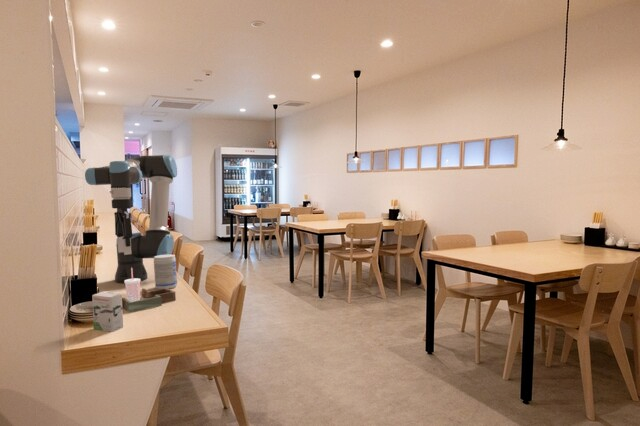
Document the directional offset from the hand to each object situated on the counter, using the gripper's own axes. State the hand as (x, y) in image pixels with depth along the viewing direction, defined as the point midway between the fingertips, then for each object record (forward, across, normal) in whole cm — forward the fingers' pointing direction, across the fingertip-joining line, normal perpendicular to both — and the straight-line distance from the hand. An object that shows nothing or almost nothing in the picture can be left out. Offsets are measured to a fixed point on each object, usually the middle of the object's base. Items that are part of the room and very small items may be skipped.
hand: (124, 253), depth 180 cm
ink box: (+19, +36, -17) cm, 44 cm away
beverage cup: (+19, +8, 0) cm, 21 cm away
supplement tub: (+19, -6, +19) cm, 28 cm away
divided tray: (+19, +12, 0) cm, 23 cm away
